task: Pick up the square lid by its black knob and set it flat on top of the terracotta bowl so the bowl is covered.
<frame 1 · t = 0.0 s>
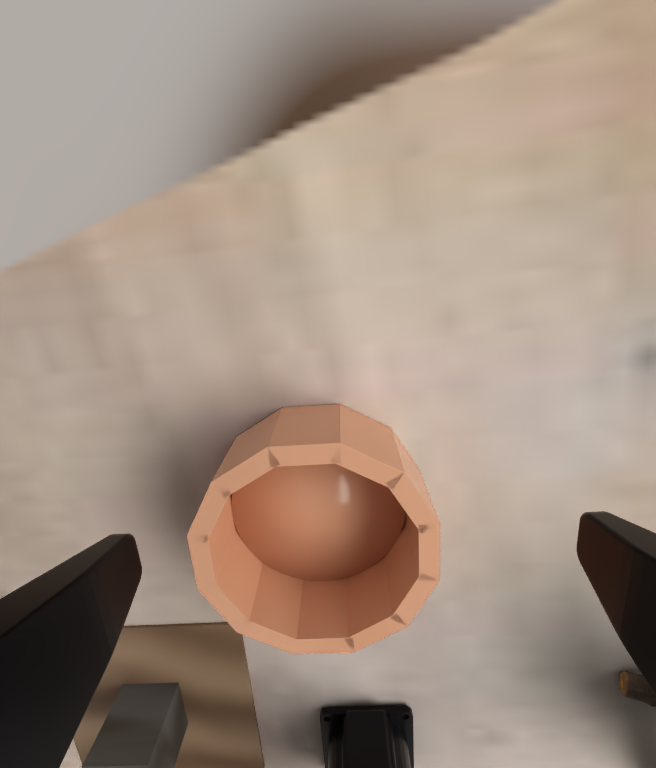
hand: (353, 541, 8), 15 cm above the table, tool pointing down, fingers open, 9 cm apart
bowl: (319, 500, 25), on the table
lid: (160, 692, 31), on the table
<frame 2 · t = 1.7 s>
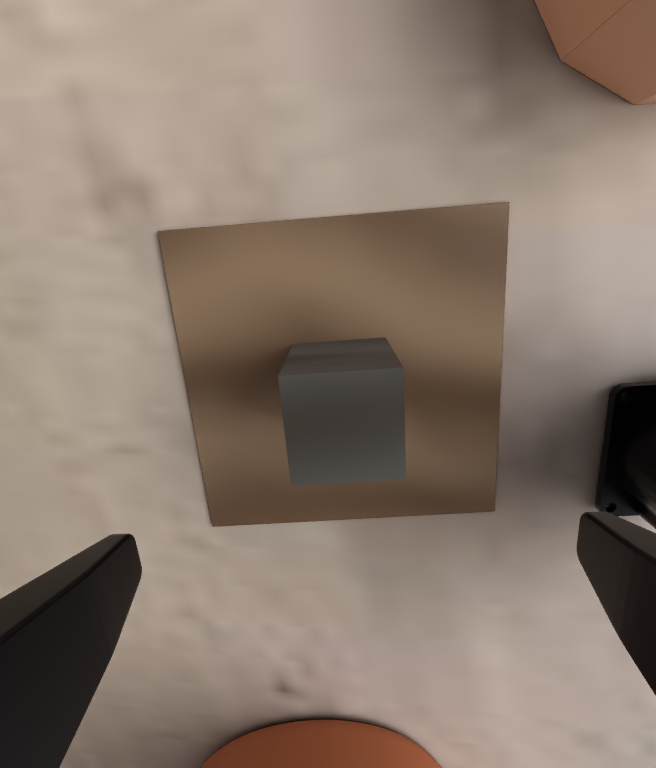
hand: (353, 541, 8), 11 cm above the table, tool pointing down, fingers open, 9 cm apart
lid: (342, 379, 19), on the table
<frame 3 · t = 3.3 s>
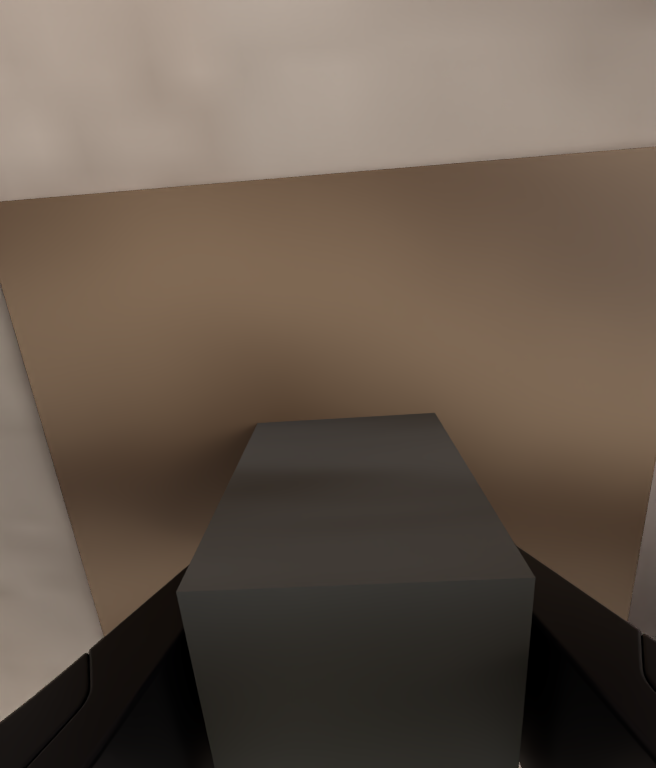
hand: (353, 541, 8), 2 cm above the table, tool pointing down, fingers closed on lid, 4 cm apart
lid: (349, 478, 11), on the table, touching gripper
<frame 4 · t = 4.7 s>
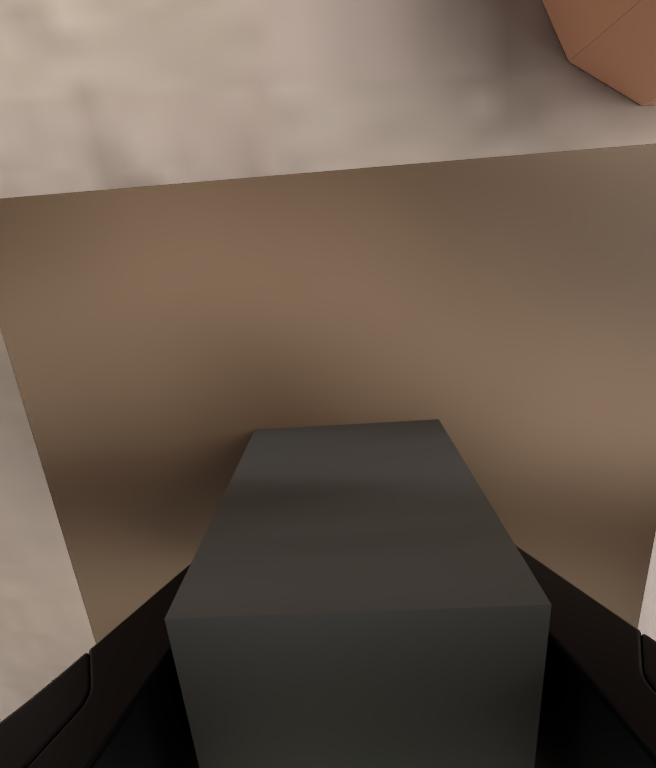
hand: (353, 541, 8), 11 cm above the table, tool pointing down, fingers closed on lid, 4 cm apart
lid: (350, 486, 10), point 9 cm above the table, touching gripper
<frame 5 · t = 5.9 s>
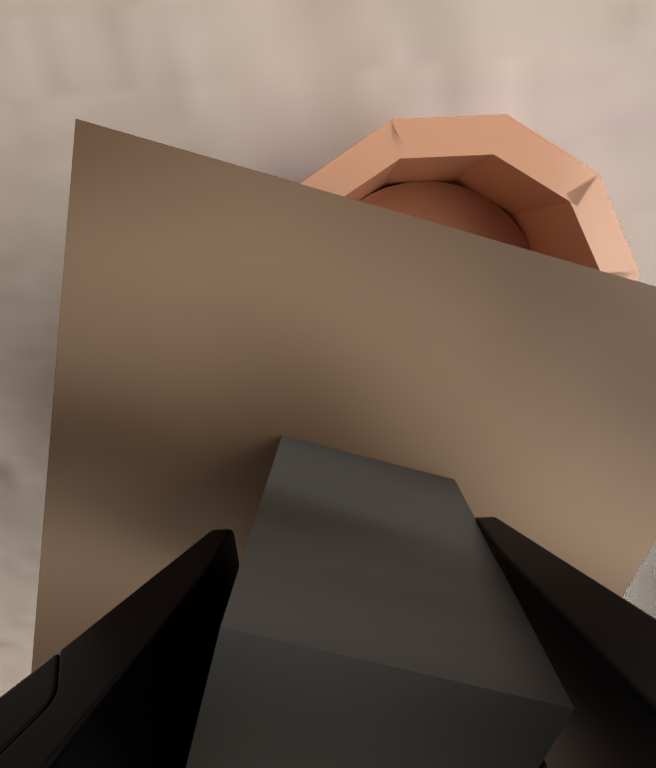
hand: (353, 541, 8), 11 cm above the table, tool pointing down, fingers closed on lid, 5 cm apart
bowl: (413, 310, 18), on the table
lid: (344, 511, 11), point 9 cm above the table, touching gripper
when the fingers open (8 cm above the table, at t = 7.5 s): lid drops 1 cm, resting on bowl.
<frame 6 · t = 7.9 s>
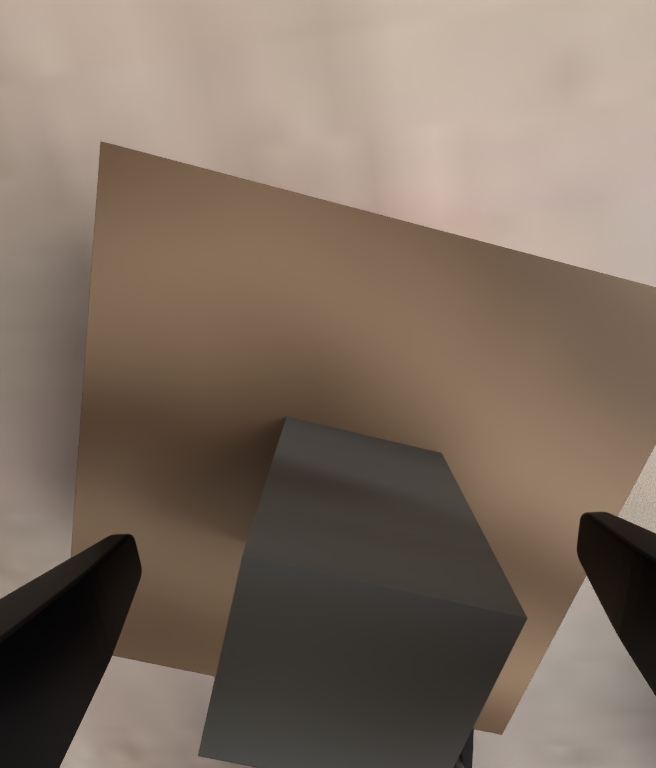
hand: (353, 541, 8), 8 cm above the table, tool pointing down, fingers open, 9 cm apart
lid: (344, 486, 12), point 5 cm above the table, touching bowl
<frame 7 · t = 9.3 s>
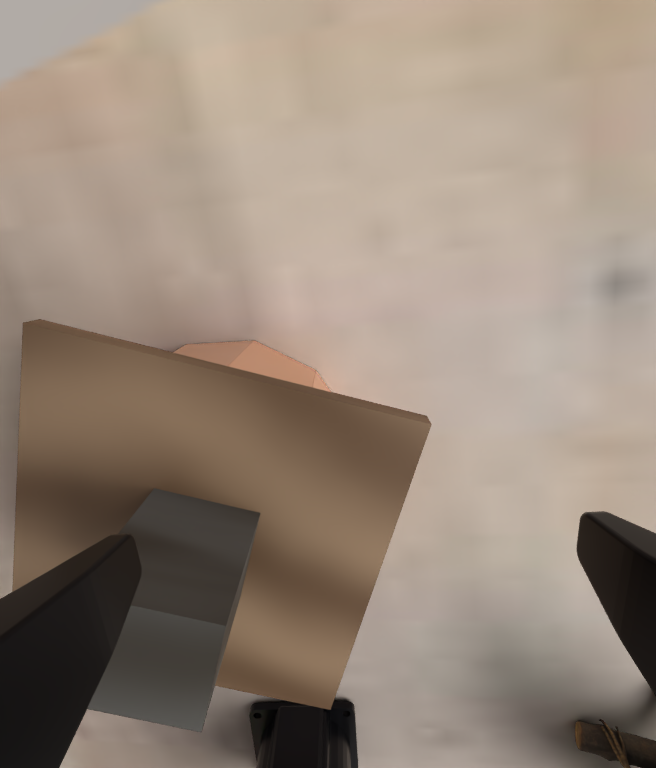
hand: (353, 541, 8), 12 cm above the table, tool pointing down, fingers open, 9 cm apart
bird figurine: (648, 717, 26), on the table
bowl: (236, 457, 21), on the table, touching lid
lid: (205, 531, 17), point 5 cm above the table, touching bowl
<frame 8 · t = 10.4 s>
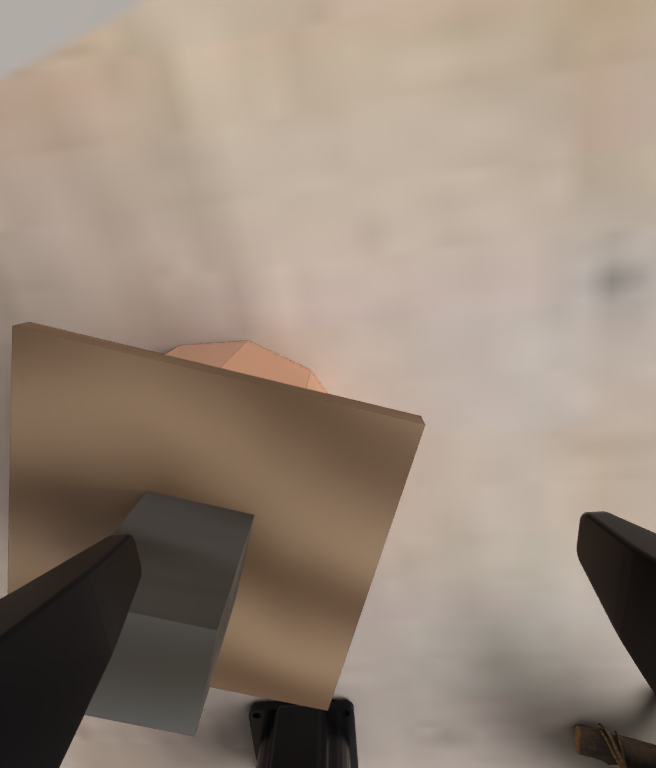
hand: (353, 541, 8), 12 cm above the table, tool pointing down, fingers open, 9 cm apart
bird figurine: (647, 721, 26), on the table
bowl: (232, 458, 21), on the table, touching lid
lid: (200, 533, 17), point 5 cm above the table, touching bowl
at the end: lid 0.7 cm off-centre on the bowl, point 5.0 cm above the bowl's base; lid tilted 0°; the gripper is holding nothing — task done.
